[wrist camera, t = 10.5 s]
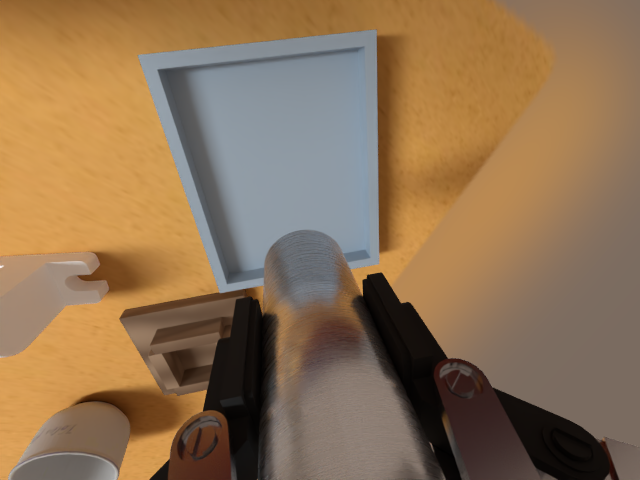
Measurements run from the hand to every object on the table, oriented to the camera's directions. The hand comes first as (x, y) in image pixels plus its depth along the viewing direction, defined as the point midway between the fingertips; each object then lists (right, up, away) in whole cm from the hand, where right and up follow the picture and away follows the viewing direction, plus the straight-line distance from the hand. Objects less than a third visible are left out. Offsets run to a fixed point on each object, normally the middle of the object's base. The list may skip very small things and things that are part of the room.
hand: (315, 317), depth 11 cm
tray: (-3, +10, +19) cm, 21 cm away
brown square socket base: (-15, -10, +27) cm, 32 cm away
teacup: (-33, -23, +30) cm, 50 cm away
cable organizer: (-28, -1, +20) cm, 34 cm away
